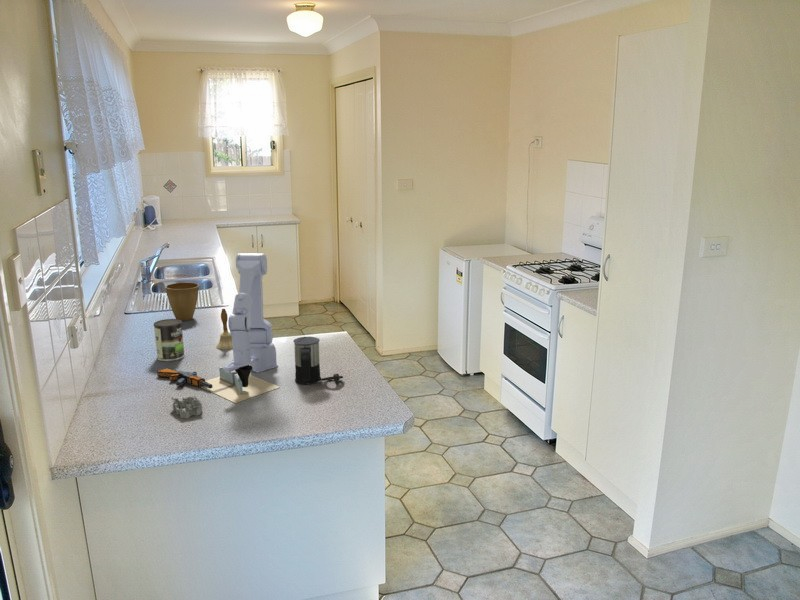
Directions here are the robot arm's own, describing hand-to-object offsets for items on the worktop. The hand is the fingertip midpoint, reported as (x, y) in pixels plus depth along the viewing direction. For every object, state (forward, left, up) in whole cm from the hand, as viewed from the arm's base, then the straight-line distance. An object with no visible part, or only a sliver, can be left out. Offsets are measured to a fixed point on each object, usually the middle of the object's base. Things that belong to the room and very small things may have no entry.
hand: (244, 386), depth 222 cm
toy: (+9, -21, -2) cm, 23 cm away
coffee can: (-1, -50, -2) cm, 50 cm away
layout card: (-1, -5, -2) cm, 6 cm away
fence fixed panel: (-1, -11, -1) cm, 12 cm away
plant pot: (-33, -95, -2) cm, 101 cm away
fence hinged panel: (+1, -2, -1) cm, 3 cm away
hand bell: (-23, -45, -2) cm, 51 cm away
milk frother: (-23, +12, -2) cm, 26 cm away
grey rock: (+22, +1, -2) cm, 22 cm away
